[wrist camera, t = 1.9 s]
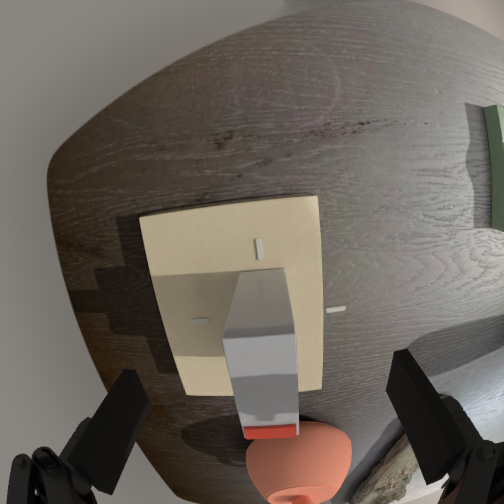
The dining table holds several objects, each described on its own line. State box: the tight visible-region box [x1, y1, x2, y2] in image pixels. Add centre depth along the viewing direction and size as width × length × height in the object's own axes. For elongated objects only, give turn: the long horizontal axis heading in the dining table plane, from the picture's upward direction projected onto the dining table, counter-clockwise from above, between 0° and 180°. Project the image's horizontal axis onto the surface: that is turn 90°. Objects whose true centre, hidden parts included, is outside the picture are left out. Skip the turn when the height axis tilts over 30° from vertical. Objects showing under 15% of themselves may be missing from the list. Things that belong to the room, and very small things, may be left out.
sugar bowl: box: [246, 421, 352, 504], centre depth 23 cm, size 12×14×10 cm
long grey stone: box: [349, 395, 448, 504], centre depth 28 cm, size 35×5×10 cm
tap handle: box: [222, 268, 299, 439], centre depth 15 cm, size 7×3×8 cm, turn 7°
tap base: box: [139, 193, 345, 396], centre depth 21 cm, size 16×14×3 cm
